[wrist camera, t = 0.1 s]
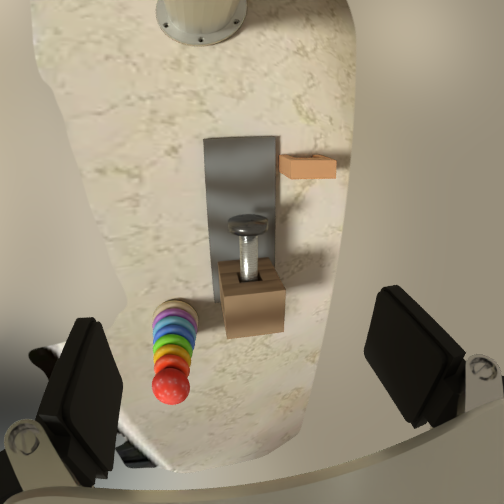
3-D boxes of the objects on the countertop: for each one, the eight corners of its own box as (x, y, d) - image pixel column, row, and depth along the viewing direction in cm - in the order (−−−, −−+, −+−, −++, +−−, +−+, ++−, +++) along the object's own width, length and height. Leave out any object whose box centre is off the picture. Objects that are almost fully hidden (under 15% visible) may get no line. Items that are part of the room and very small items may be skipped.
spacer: (279, 154, 44) (291, 160, 38) (319, 154, 45) (336, 160, 39) (279, 171, 45) (290, 179, 39) (319, 170, 46) (335, 178, 40)
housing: (203, 139, 41) (205, 145, 31) (273, 136, 42) (297, 142, 32) (214, 299, 52) (220, 342, 42) (272, 293, 53) (290, 333, 43)
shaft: (225, 215, 42) (230, 228, 37) (263, 213, 43) (272, 225, 38) (231, 311, 49) (235, 331, 44) (263, 307, 49) (270, 327, 45)
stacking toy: (200, 300, 51) (207, 384, 35) (195, 337, 54) (201, 420, 38) (154, 295, 50) (141, 378, 33) (152, 332, 53) (144, 416, 36)
